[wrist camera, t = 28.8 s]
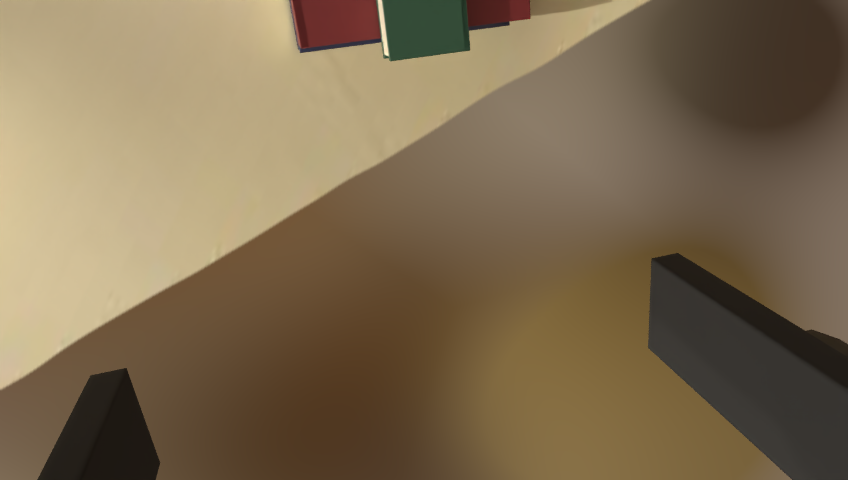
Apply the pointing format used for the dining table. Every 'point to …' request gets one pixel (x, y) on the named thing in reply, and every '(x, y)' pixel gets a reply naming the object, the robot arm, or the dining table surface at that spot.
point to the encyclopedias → (358, 20)
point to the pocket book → (422, 27)
